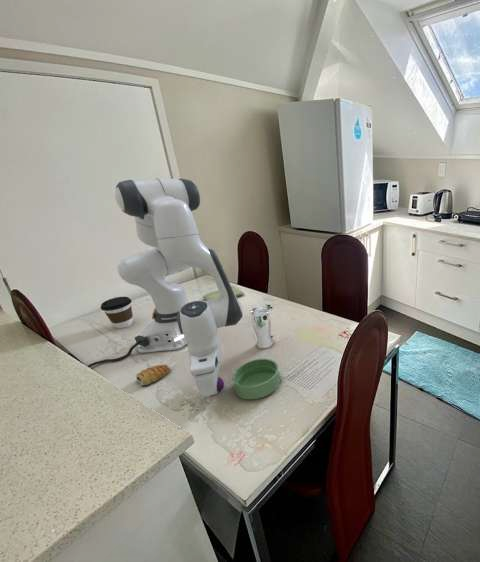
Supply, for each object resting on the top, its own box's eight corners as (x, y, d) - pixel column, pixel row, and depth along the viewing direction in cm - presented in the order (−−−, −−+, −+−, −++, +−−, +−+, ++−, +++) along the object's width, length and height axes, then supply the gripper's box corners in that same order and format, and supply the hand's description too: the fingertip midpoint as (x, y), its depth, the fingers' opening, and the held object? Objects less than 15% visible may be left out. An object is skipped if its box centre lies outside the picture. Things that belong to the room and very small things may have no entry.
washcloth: (245, 295, 168) (244, 290, 167) (212, 307, 156) (211, 301, 155) (234, 288, 176) (233, 283, 175) (202, 299, 164) (200, 294, 163)
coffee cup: (110, 334, 135) (100, 310, 130) (108, 324, 142) (98, 301, 137) (140, 325, 141) (132, 301, 136) (137, 316, 149) (129, 293, 144)
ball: (207, 398, 100) (204, 385, 98) (209, 387, 104) (206, 375, 102) (224, 394, 101) (221, 381, 99) (225, 384, 106) (222, 372, 104)
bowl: (235, 405, 97) (231, 392, 94) (236, 376, 109) (233, 364, 107) (282, 394, 101) (279, 380, 99) (278, 367, 113) (276, 354, 111)
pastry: (164, 366, 115) (161, 357, 113) (173, 373, 111) (170, 364, 109) (135, 380, 107) (132, 372, 106) (144, 388, 104) (140, 379, 102)
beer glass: (268, 350, 123) (263, 317, 117) (252, 348, 124) (246, 315, 118) (277, 340, 129) (272, 308, 123) (262, 338, 130) (256, 306, 124)
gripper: (199, 336, 104) (209, 369, 110) (189, 375, 87) (200, 412, 92) (220, 332, 106) (228, 365, 112) (214, 369, 89) (224, 406, 94)
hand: (216, 386), depth 102 cm, fingers closed on ball, 5 cm apart
